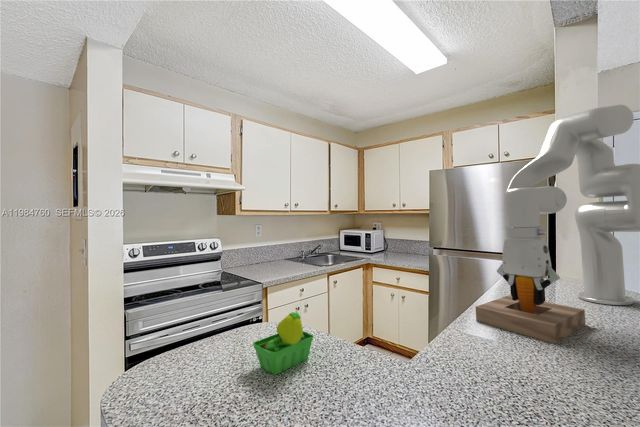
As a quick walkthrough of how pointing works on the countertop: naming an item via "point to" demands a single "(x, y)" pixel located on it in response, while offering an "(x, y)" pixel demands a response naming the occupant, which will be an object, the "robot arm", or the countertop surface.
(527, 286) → the carrot
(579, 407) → the countertop surface
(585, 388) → the countertop surface
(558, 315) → the socket block
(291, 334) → the fruit basket
